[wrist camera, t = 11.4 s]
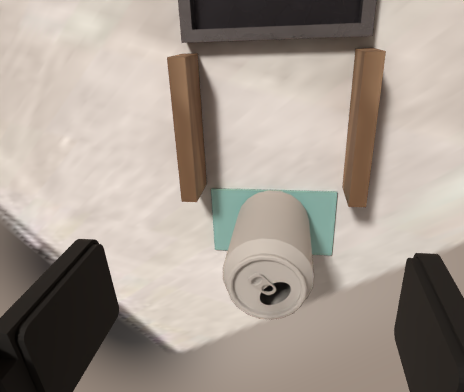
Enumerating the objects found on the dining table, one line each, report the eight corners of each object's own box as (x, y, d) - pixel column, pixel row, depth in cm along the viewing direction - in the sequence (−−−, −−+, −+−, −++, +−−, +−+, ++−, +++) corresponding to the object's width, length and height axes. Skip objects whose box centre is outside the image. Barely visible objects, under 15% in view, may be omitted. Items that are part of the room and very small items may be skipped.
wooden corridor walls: (373, 48, 32) (385, 51, 28) (357, 187, 37) (365, 207, 33) (181, 53, 34) (167, 57, 30) (193, 183, 39) (181, 201, 35)
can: (270, 260, 42) (263, 341, 31) (224, 215, 40) (199, 284, 29) (323, 222, 39) (335, 298, 28) (275, 172, 37) (269, 232, 26)
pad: (336, 191, 37) (337, 192, 37) (331, 253, 41) (331, 255, 40) (211, 188, 39) (210, 189, 39) (215, 248, 42) (214, 249, 42)
